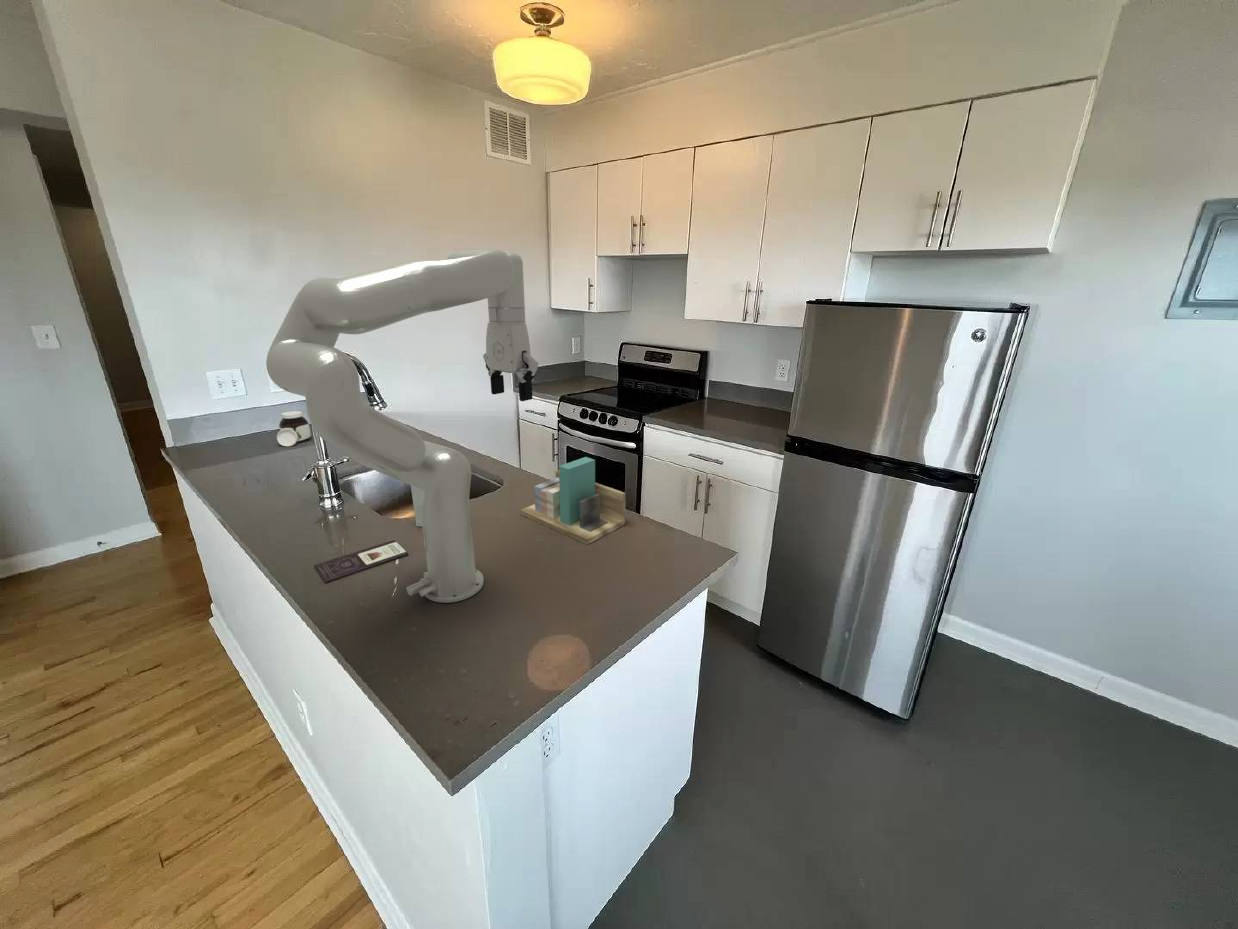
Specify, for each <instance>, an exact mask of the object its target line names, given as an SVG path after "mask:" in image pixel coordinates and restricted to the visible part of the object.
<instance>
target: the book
mask: <svg viewBox="0 0 1238 929" xmlns="http://www.w3.org/2000/svg"><path fill="white" fill-rule="evenodd" d="M558 470H559V486H560V522H562V523H565V524H567V525H569V526H570V525H572V524H574V523H576V522H578V521H580V501H582V500H584V499H586V498H589V497H591V496H593V495H595V483H596V459H593V458H591V457H588V456H584V457H581V458H579V459H576V460H572V461H571V462H567V463H564V464H561V465H559V466H558Z"/></svg>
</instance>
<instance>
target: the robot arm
mask: <svg viewBox="0 0 1238 929" xmlns="http://www.w3.org/2000/svg"><path fill="white" fill-rule="evenodd" d="M523 263H524V261H523V259H522V257H521V255H520V254H518V253H513V252H505V251H503V250H501V249H497V248H480V249H479V248H478V249H477V248H476V249H460V250H456V251H454V252H452V253H451V254H450V255H449V256H447V258H446V259H445V260H419V261H418V260H417V261H409V262H403V263H398V264H394V265H390V266H386V267H383V268H379V269H375V270H371V271H367V272H361V273H358V274H355V275H350V276H347V277H346V276H345V277H340V278H339V277H338V278H333V277H331V278H329V277H327V278H326V277H319V278H315V279H312V280H309V281H308V282H307V283H306V284H304V286H303V287H302V288H301V289H300V290H299V291H298V293H297V294H296V296H295V298H294V300H293V301H292V303H291V305H290V307H289V309H288V311H287V313H286V314H285V316H284V319H283V321H282V323H281V325H280V327H279V329H278V331H277V333H276V335H275V337H274V339H273V340H272V343H271V345H270V347H269V349H268V351H267V355H266V361H265V364H266V365H265V366H266V368H265V369H266V372H267V374H268V376H269V378H270V379H271V381H272V382H273V383H274V385H276V386H277V387H278V388H280V389H281V390H283V391H285V392H287V393H290V394H293V395H298V396H301V397H304V398H305V406H306V412H307V415H308V418H309V421H310V423H311V426H312V429H314V431H315V433H316V434H317V435H318V436H319V437H320V438H321V439H322V440H323V441H324V442H326V443H328V444H330V445H331V446H333V447H335V448H337V449H339V450H341V451H344V452H345V453H347V454H348V456H349V457H350V459H352V460H353V461H354V462H356V463H358V464H360V465H362V466H364V467H366V468H368V469H370V470H373V471H375V472H378V473H380V474H383V475H386V476H388V477H390V478H392V479H395V480H397V481H399V482H401V483H405V484H407V485H409V486H411V485H412V486H415V487H417V488H419V489H422V490H423V491H424V493H425V498H424V501H423V504H422V507H421V522H422V526H421V527H422V534H423V543H424V551H425V558H426V564H427V570H426V571H425V572H423V574H422V575H423V577H422V578H420V580H419V581H418V582H415V583H413V584H410V585H409V586H406V592H407V594H408V596H413V595H415V594H418V593H419V595H420V597H425V598H426V599H428V600H429V601H433V602H436V603H444V604H445V603H456V602H457V603H458V602H459V601H460V602H461V601H464V600H466V599H469V598H471V597H473V596H474V595H475V594H477V593H478V592H479V591H481V589H482V588H483V586H484V583H485V581H484V580H485V578H484V574H483V573H482V572H481V571H480V570H478V569H477V568H476V564H475V563H476V562H475V552H474V543H473V532H472V523H471V522H472V521H471V519H472V518H471V512H470V510H471V509H470V488H471V480H472V468H471V464H470V462H469V460H468V459H467V457H466V456H465V455H464V454H463V453H462V452H460V451H458V450H456V449H454V448H452V447H449V446H445V445H442V444H439V443H435V442H431V441H427V440H423V438H422V437H421V435H419V433H417V432H416V431H415V430H414V429H413V428H411V427H410V426H408V425H406V424H404V423H403V422H399V421H397V420H395V419H393V418H391V417H390V416H388V415H385V414H383V413H382V412H380V411H378V410H377V409H375V408H374V407H371V406H370V405H368V404H367V403H366V402H365V400H364V399H363V397H362V393H361V385H360V384H361V383H360V377H359V376H360V375H359V372H358V369H357V366H356V364H355V363H354V361H353V360H352V359H351V357H350V356H348V355H347V353H345V352H343V351H342V350H341V349H339V348H336V347H335V346H336V343H337V342H338V338H339V336H340V334H343V335H345V334H346V335H362V334H366V333H370V332H373V331H376V330H378V329H381V328H382V329H383V328H384V327H387V326H390V325H393V324H396V323H399V322H402V321H405V320H407V319H411V318H414V317H416V316H420V315H422V314H426V313H432V312H437V311H442V310H446V309H450V308H453V307H458V306H462V305H463V306H464V305H467V304H470V303H475V302H479V301H482V300H486V299H487V307H488V308H487V311H488V312H487V313H488V322H487V326H486V336H485V352H486V353H484V354H483V355H482V356H483V360H484V363H485V368H486V370H487V371H488V377H489V378H490V379H489V380H490V390H491V395H500V394H504V393H505V380H504V374H503V373H507V374H514V373H515V374H516V375H517V377H518V379H519V381H520V382H518V399H519V401H520V402H526V401H530V400H532V399H533V381H534V380H535V379H534V378H535V377H536V376H537V371H538V367H539V362H538V361H536V359H534V357H533V356H531V355H532V354H531V346H530V345H531V344H530V337H529V331H528V326H527V324H526V308H525V307H526V304H525V288H524V285H525V284H524V283H525V282H524V264H523ZM534 382H535V381H534Z"/></svg>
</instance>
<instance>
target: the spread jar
mask: <svg viewBox="0 0 1238 929" xmlns="http://www.w3.org/2000/svg"><path fill="white" fill-rule="evenodd" d="M281 417H282V419H281V420H280V421H279V424H278V426H279V431H278V432H277V434H276V439H277V442H278V443H279V445H281V446H284V447H291V446H294V445H296V444H302V443H305V442H308V440H309V439H310V438H311V435H312V434H311V428H310V424H309V421H308V419H306V418H305V417H304V416H303V412H302V411H299V410H293V411H291V410H290V411H286V412H282V413H281Z"/></svg>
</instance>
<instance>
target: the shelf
mask: <svg viewBox="0 0 1238 929" xmlns="http://www.w3.org/2000/svg"><path fill="white" fill-rule="evenodd" d="M533 490H534V504H531V505H530V506H527V507H524V508H521V509H519V510H520V515H521V516H523V515H524V516H523V517H525V516H526V518H527V517H528V518H527V519H529V518H530V520H531V519H532V521H533V522H536V521H537V522H536V523H538V522H539V524H540V523H541V525H542V524H543V526H545V527H547V528H549V529H551V528H552V530H554V531H556V532H559V533H560V534H562V535H565V536H567V537H569V538H572V539H574V540H576V541H578V540H579V541H578V542H580V541H581V543H582V542H583V543H582V544H585V545H586V546H587V545H590V544H591V543H593V542H595V541H597V540H599V539H601V538H603V537H604V536H607V535H608V534H610V533H612V532H614V531H616V530H617V529H620V528H621V527H623V526H625V525H626V524H625V523H626V492H623V491H621V490H618V489H615V488H613V487H609V486H606V485H604V484H601V483H599V482H595V495H593V496H591V497H589V498H586V499H584V500H582V501H580V521H578V522H576V523H574V524H572V525H570V526H569V525H567V524H565V523H562V522H560V486H559V469H556V470H555V478H553V479H550V480H547V481H545V482H541V483H539V484H537V485H534V488H533Z"/></svg>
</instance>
